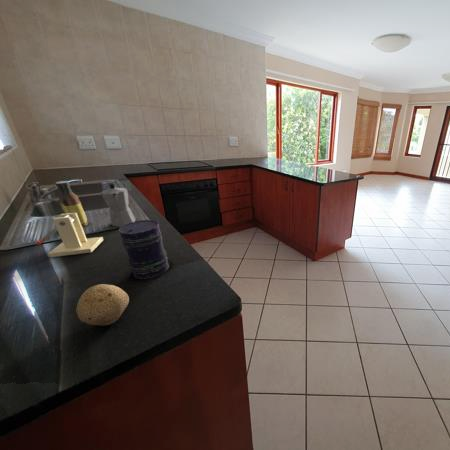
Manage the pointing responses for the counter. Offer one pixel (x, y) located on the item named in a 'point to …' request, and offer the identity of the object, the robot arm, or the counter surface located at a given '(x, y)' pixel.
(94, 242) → the bracket
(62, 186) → the sauce bottle
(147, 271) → the storage jar
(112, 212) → the coffeepot
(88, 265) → the counter surface
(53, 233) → the lever
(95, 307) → the potato
